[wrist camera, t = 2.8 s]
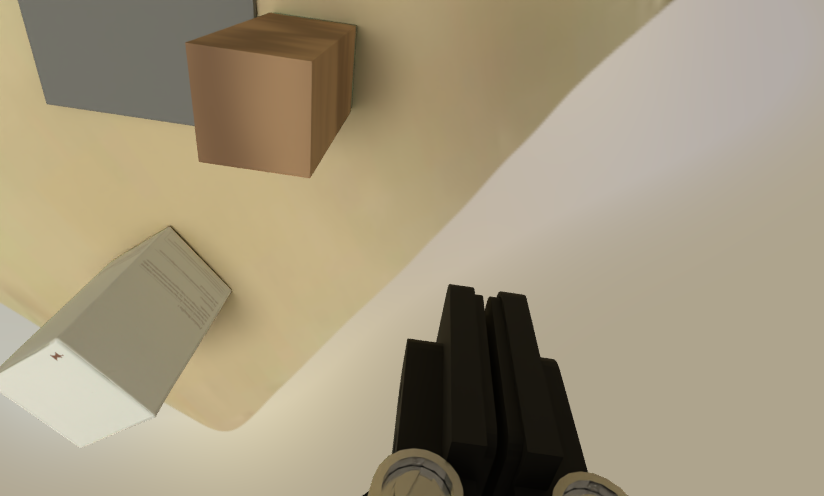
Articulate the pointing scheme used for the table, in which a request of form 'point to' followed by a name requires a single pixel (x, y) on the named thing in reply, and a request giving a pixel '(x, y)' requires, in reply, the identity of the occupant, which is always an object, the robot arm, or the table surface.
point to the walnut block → (271, 92)
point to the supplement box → (117, 342)
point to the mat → (123, 51)
